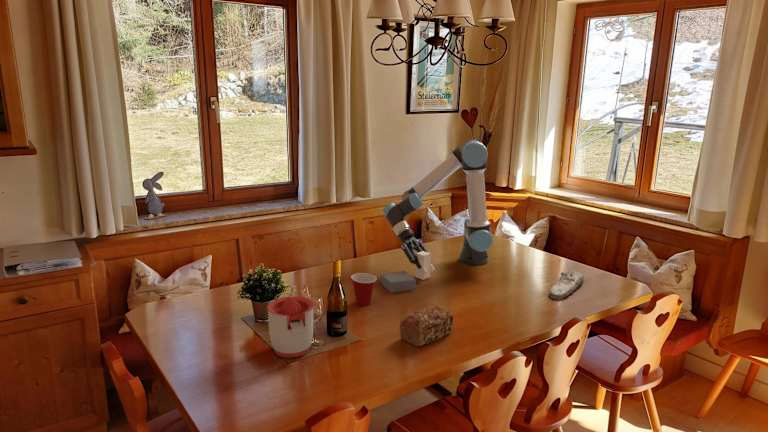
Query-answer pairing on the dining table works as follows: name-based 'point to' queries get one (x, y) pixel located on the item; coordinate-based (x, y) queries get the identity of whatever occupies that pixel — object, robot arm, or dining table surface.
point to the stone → (565, 285)
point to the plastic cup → (363, 287)
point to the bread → (426, 325)
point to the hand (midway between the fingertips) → (428, 272)
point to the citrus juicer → (291, 325)
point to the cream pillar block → (426, 262)
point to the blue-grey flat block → (398, 281)
